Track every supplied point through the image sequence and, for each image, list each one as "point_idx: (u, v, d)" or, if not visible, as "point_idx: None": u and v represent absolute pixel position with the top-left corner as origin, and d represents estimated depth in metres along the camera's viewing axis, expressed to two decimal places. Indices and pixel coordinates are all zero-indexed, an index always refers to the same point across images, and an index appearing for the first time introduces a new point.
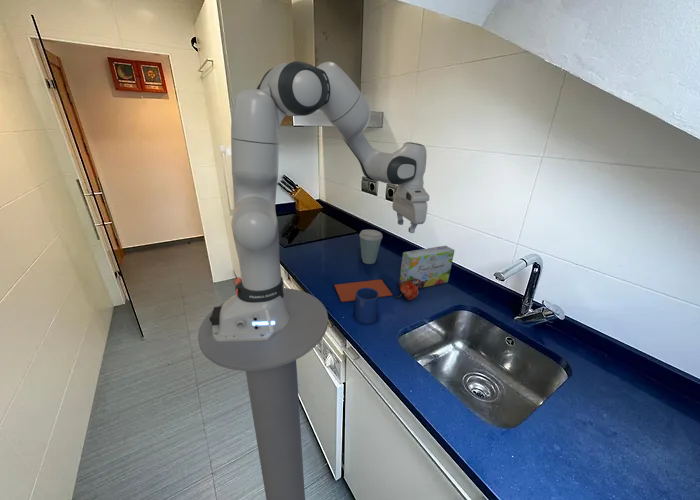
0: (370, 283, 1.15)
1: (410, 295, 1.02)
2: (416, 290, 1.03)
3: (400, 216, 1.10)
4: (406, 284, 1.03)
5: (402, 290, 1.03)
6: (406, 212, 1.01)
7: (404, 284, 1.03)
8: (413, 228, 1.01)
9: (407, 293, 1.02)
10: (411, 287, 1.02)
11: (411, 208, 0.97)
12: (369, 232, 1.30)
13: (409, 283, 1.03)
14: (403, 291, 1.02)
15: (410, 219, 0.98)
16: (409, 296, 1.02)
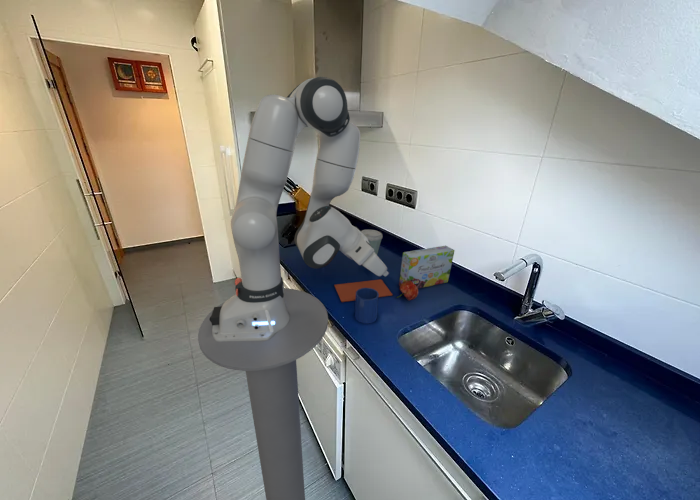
0: (370, 283, 1.15)
1: (410, 295, 1.02)
2: (416, 290, 1.03)
3: None
4: (406, 284, 1.03)
5: (402, 290, 1.03)
6: None
7: (404, 284, 1.03)
8: (384, 272, 0.91)
9: (407, 293, 1.02)
10: (411, 287, 1.02)
11: None
12: (369, 232, 1.30)
13: (409, 283, 1.03)
14: (403, 291, 1.02)
15: None
16: (409, 296, 1.02)
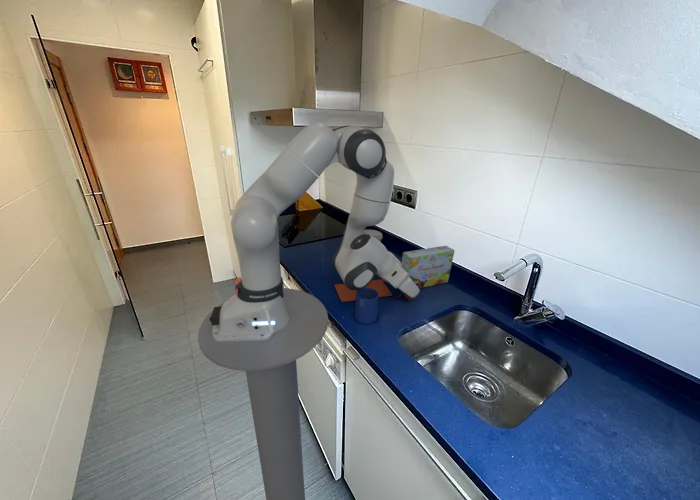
0: (370, 283, 1.15)
1: None
2: None
3: None
4: None
5: None
6: None
7: None
8: None
9: None
10: None
11: None
12: (369, 232, 1.30)
13: None
14: None
15: None
16: (409, 296, 1.02)
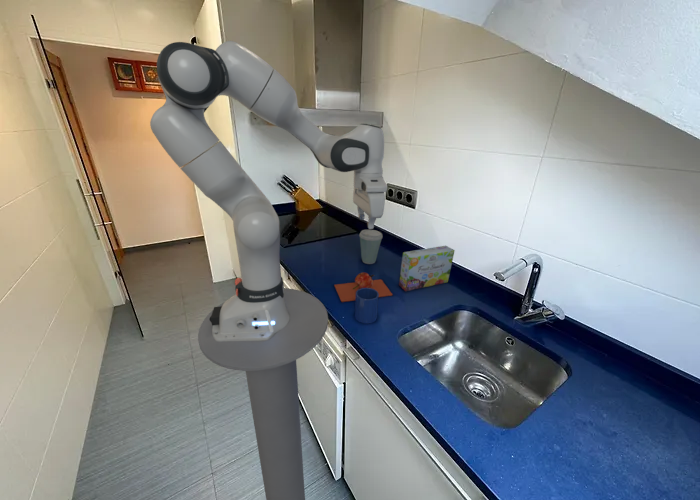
0: None
1: (364, 286, 1.06)
2: (370, 281, 1.07)
3: (361, 210, 0.98)
4: (360, 275, 1.07)
5: (356, 281, 1.07)
6: (364, 205, 0.88)
7: (359, 275, 1.07)
8: (372, 223, 0.89)
9: (361, 284, 1.06)
10: (365, 279, 1.06)
11: (368, 200, 0.85)
12: (369, 232, 1.30)
13: (363, 274, 1.07)
14: (357, 282, 1.06)
15: (367, 212, 0.86)
16: (363, 287, 1.06)
